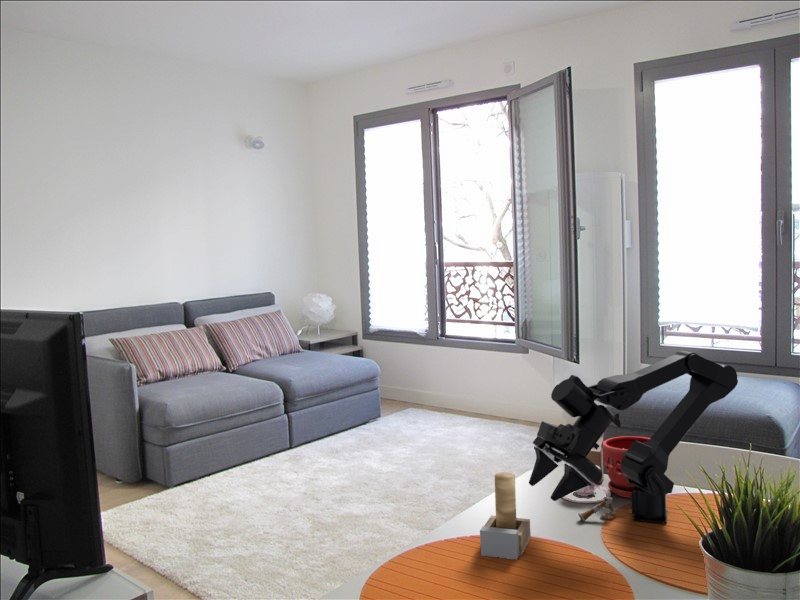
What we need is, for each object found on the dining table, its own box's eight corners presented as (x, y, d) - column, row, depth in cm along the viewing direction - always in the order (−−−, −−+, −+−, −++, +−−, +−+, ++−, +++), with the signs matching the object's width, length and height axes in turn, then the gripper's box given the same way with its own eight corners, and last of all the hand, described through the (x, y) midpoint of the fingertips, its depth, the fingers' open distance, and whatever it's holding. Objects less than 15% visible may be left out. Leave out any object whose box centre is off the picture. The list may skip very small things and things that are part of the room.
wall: (519, 555, 132) (518, 530, 131) (517, 559, 130) (515, 534, 129) (484, 551, 134) (482, 526, 134) (481, 555, 132) (479, 530, 132)
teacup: (577, 482, 169) (575, 457, 169) (621, 493, 160) (620, 467, 160) (548, 496, 161) (546, 470, 161) (592, 508, 152) (591, 481, 152)
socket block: (530, 538, 139) (529, 519, 138) (521, 555, 131) (520, 535, 131) (492, 534, 142) (491, 515, 142) (481, 550, 134) (480, 530, 134)
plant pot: (672, 489, 160) (671, 439, 159) (646, 506, 151) (645, 453, 150) (621, 478, 170) (619, 431, 169) (593, 494, 161) (591, 443, 160)
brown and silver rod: (621, 514, 146) (612, 496, 145) (589, 533, 145) (580, 515, 145) (617, 511, 148) (608, 493, 147) (586, 529, 147) (577, 512, 146)
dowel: (520, 538, 137) (518, 474, 136) (510, 545, 134) (508, 480, 133) (503, 533, 139) (501, 470, 138) (492, 540, 136) (490, 476, 135)
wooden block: (601, 483, 167) (600, 451, 166) (585, 482, 169) (583, 450, 168) (603, 478, 171) (602, 446, 170) (587, 477, 172) (586, 445, 172)
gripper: (538, 397, 147) (494, 455, 145) (585, 417, 129) (535, 483, 127) (573, 428, 150) (530, 486, 148) (623, 451, 132) (575, 517, 130)
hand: (541, 492), depth 138 cm, fingers open, 9 cm apart
